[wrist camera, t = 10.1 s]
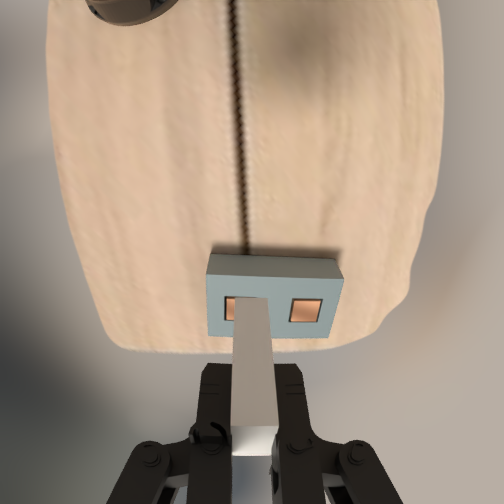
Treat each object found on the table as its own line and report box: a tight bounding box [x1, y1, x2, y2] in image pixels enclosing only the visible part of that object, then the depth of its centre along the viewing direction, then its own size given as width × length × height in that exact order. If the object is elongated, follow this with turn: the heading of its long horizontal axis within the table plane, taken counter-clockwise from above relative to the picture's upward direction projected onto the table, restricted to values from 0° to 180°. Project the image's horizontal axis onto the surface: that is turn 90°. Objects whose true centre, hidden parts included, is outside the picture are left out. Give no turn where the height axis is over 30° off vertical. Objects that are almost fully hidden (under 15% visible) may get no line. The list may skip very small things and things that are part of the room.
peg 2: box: [290, 298, 321, 322], centre depth 48 cm, size 4×4×6 cm
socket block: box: [206, 254, 344, 339], centre depth 48 cm, size 12×20×6 cm, turn 87°
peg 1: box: [227, 296, 254, 320], centre depth 48 cm, size 4×4×6 cm
